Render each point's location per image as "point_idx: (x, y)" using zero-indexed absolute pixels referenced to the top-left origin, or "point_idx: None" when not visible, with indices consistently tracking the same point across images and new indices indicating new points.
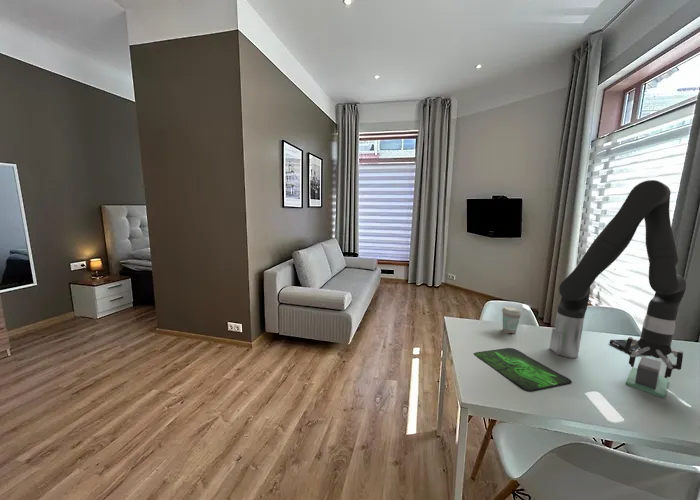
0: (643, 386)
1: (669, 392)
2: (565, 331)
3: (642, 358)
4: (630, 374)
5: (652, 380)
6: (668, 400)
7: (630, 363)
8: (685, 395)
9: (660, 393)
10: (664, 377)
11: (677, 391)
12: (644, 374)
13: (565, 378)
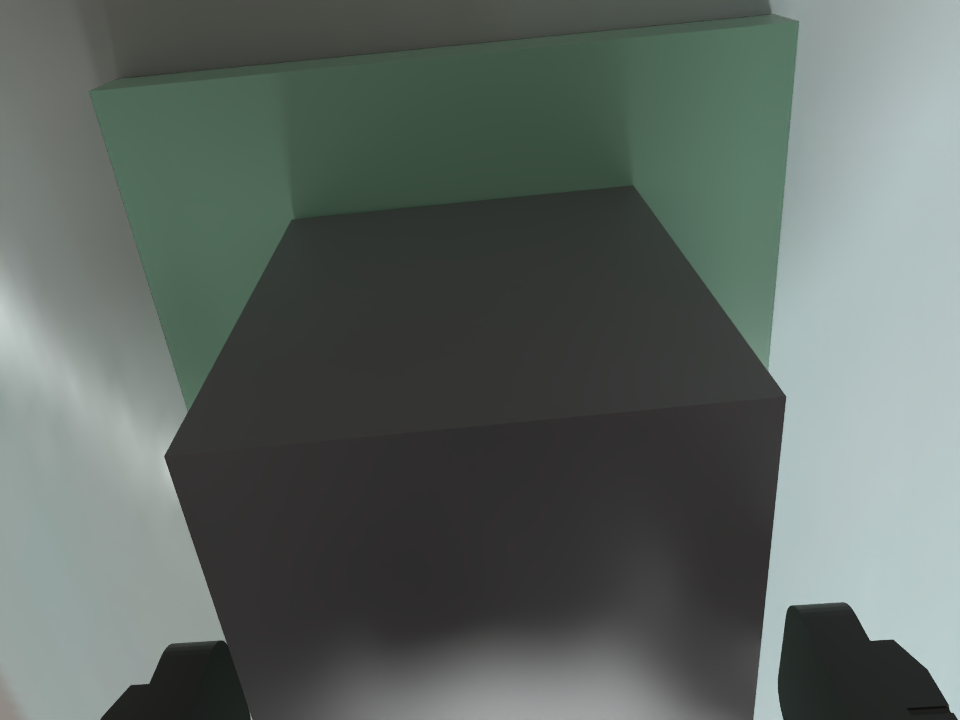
0: (477, 136)
1: None
2: None
3: None
4: None
5: (335, 281)
6: (45, 44)
7: (883, 668)
8: (28, 539)
9: (171, 99)
10: (219, 643)
11: (135, 574)
12: (524, 315)
13: None
